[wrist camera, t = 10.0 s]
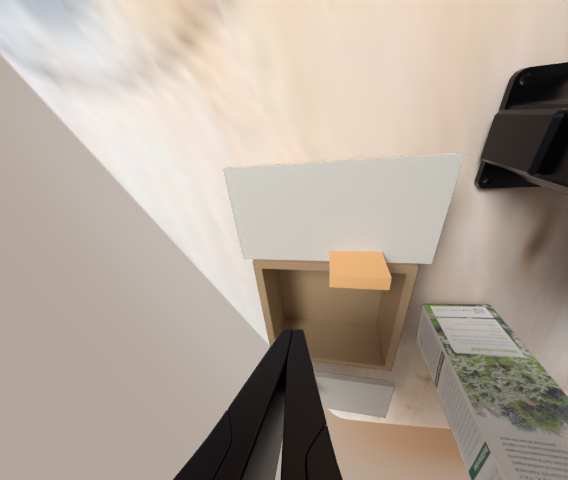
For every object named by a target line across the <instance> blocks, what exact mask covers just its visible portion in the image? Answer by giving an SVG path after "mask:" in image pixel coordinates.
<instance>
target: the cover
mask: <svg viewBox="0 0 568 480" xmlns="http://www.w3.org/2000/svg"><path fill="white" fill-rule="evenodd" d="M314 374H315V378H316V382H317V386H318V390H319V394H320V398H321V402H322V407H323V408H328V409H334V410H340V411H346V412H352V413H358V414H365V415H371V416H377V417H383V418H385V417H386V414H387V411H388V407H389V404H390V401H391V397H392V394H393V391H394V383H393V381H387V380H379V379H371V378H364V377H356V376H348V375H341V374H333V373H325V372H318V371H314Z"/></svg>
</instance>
